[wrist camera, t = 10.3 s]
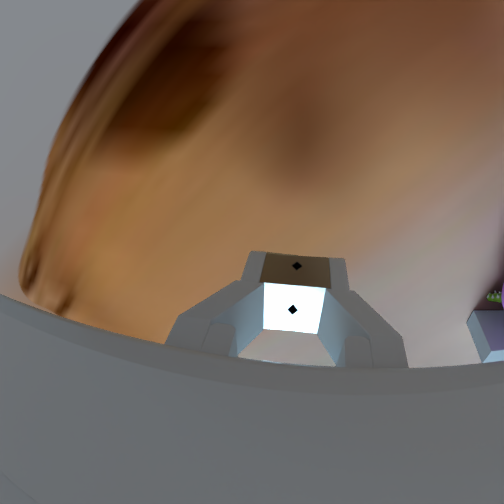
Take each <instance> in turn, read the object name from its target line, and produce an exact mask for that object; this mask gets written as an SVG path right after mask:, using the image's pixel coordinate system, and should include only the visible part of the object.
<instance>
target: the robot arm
mask: <svg viewBox="0 0 504 504" xmlns="http://www.w3.org/2000/svg"><path fill="white" fill-rule="evenodd" d="M263 328H266V329H278V330H290V329H291V331H300V332H309V333H317V336H318V337H319V339H320V340H321V342H322V343H323V345H324V347H325V348H326V350H327V351H328V353H329V354H330V356H331V358H332V359H333V361H334V362H335V364H336V366H335V367H330V366H314V365H301V364H290V363H280V362H271V361H262V360H254V359H246V358H239V357H238V354H239V353H240V352H241V351H242V350H243V349H244V348H245V347H246V346H247V345H248V344H249V343H250V342H251V341H252V340H253V339H255V338H256V337H257V336H258V335H259V334H260V333H261V332H262V331H263ZM0 504H504V360H503V361H496V362H488V363H479V364H469V365H458V366H444V367H427V368H409V367H408V362H407V357H406V352H405V348H404V343H403V339H402V336H401V335H400V334H399V333H398V332H397V331H395V330H394V329H393V328H392V327H391V326H390V325H389V324H388V323H387V322H386V321H385V320H384V319H383V318H382V317H381V316H380V315H379V314H378V313H377V312H376V311H375V310H374V309H373V308H372V307H371V306H370V305H369V304H368V303H366V302H365V301H364V300H363V299H362V298H361V297H360V296H359V295H358V294H357V293H356V292H355V291H351V290H349V283H348V276H347V269H346V263H345V259H344V258H330V257H329V258H327V257H311V256H298V255H291V254H282V253H272V252H263V251H251V252H250V253H249V256H248V259H247V262H246V265H245V268H244V271H243V274H242V277H241V280H240V281H238V280H236V281H234V282H232V283H231V284H229V285H228V286H226V287H224V288H223V289H221V290H219V291H218V292H216V293H215V294H213V295H211V296H210V297H208V298H207V299H205V300H203V301H202V302H200V303H198V304H197V305H195V306H193V307H192V308H190V309H189V310H187V311H185V312H184V313H182V314H180V315H179V316H178V318H177V320H176V322H175V324H174V326H173V328H172V330H171V332H170V334H169V336H168V338H167V340H166V342H165V344H161V343H156V342H152V341H147V340H143V339H139V338H135V337H131V336H127V335H123V334H119V333H115V332H111V331H107V330H104V329H100V328H97V327H93V326H90V325H86V324H83V323H80V322H77V321H73V320H70V319H67V318H64V317H61V316H58V315H55V314H52V313H49V312H46V311H43V310H40V309H38V308H35V307H32V306H30V305H27V304H24V303H21V302H19V301H16V300H14V299H11V298H9V297H6V296H4V295H2V294H0Z"/></svg>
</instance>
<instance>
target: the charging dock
mask: <svg viewBox="0 0 504 504" xmlns="http://www.w3.org/2000/svg"><path fill="white" fill-rule="evenodd" d="M467 326H468V328H469V331H470V333H471V336H472V338H473V341H474V343H475V346H476V348H477V351H478V354H479V356H480V359H481V362H482V363H488V362H496V361H503V360H504V310H486V311H473V312H472V314H471V316H470V318H469V319H468V321H467Z"/></svg>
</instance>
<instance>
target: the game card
mask: <svg viewBox="0 0 504 504" xmlns="http://www.w3.org/2000/svg"><path fill="white" fill-rule="evenodd" d="M487 300H488V301H493V302H502V305H503V308H504V284H503V287H502V292H500V291H499V293H498V294H497V293H496V291H495V293H494V294H491V293H490V292H489V295H488V296H487Z"/></svg>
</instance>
